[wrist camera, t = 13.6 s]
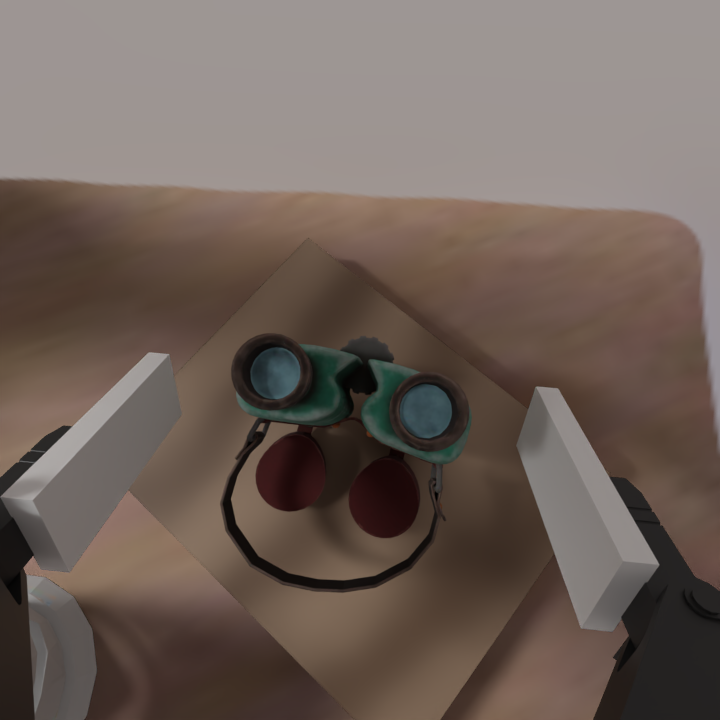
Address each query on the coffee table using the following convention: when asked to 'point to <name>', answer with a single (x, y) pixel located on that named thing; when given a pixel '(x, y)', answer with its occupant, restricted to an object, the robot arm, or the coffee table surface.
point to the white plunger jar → (59, 652)
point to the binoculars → (330, 408)
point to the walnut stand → (332, 513)
